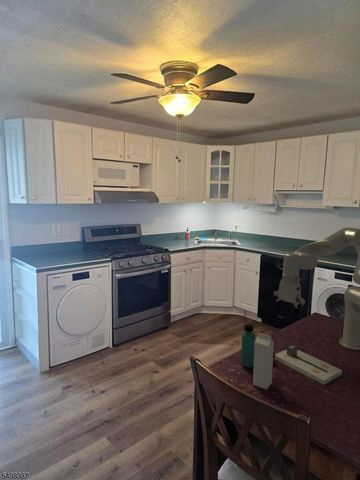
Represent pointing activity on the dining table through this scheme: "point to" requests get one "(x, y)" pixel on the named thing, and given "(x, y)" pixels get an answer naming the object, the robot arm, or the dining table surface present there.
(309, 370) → the slider board
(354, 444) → the dining table surface
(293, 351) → the fader
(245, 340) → the beverage bottle
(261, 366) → the milk
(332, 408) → the dining table surface
